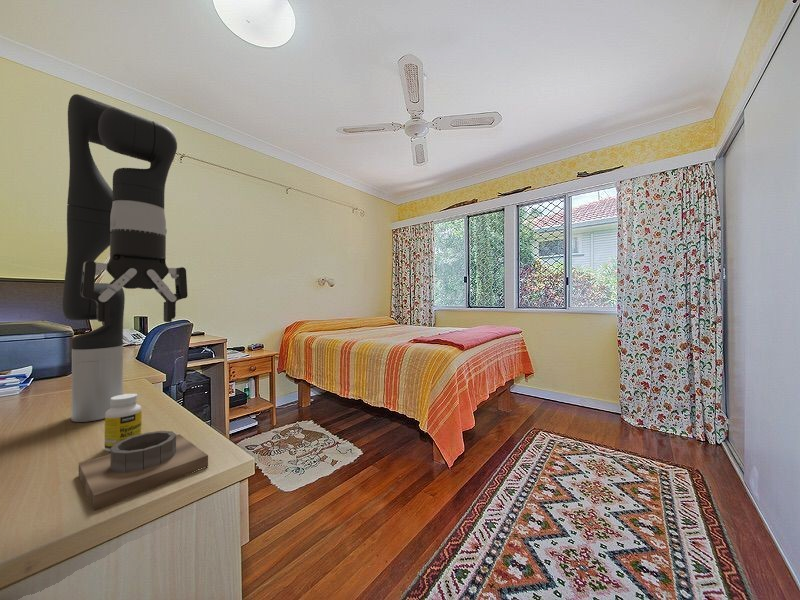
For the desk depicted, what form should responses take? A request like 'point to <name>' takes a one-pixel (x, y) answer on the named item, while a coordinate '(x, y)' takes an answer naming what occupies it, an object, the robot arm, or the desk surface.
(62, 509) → the desk surface
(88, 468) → the cup bracket
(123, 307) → the robot arm
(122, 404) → the supplement bottle
